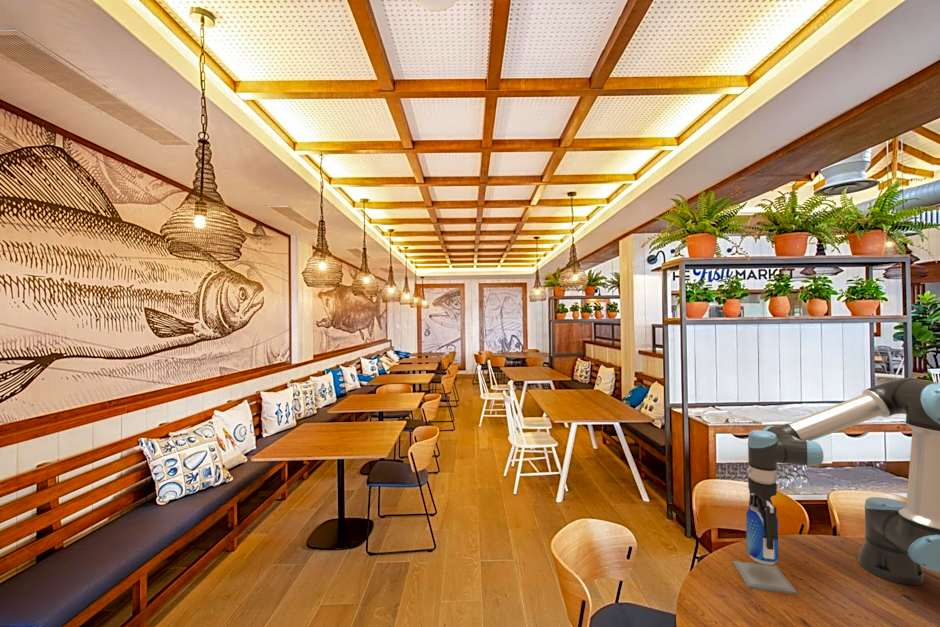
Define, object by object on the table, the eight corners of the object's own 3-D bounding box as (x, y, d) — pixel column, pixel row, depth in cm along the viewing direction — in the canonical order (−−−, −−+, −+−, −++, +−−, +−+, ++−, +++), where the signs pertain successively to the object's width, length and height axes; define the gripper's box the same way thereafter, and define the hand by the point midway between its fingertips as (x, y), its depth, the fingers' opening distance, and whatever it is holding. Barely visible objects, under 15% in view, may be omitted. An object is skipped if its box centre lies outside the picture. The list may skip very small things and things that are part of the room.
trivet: (776, 568, 138) (776, 565, 138) (796, 594, 125) (796, 591, 125) (732, 562, 141) (732, 560, 141) (748, 587, 128) (748, 584, 128)
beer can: (783, 567, 128) (783, 516, 128) (753, 564, 130) (753, 514, 129) (770, 552, 136) (769, 504, 136) (741, 549, 138) (741, 501, 138)
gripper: (736, 466, 144) (736, 531, 144) (763, 492, 123) (763, 567, 124) (761, 468, 142) (761, 534, 142) (792, 495, 122) (792, 571, 122)
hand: (762, 549), depth 133 cm, fingers closed on beer can, 8 cm apart
